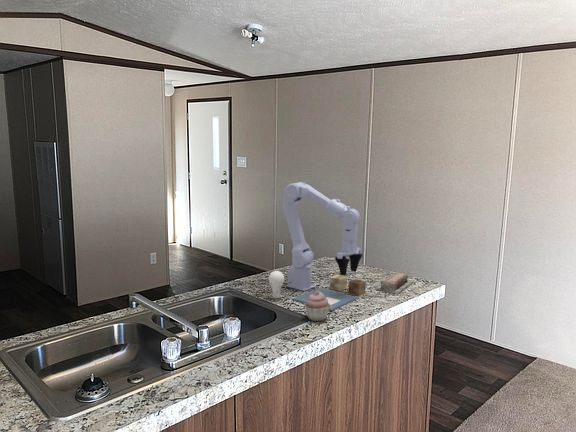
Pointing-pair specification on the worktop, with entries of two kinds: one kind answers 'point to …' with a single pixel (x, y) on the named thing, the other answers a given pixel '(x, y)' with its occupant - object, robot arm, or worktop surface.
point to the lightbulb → (276, 283)
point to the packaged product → (395, 283)
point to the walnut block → (357, 287)
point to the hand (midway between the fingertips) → (348, 272)
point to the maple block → (338, 282)
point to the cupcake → (317, 306)
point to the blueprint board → (329, 298)
